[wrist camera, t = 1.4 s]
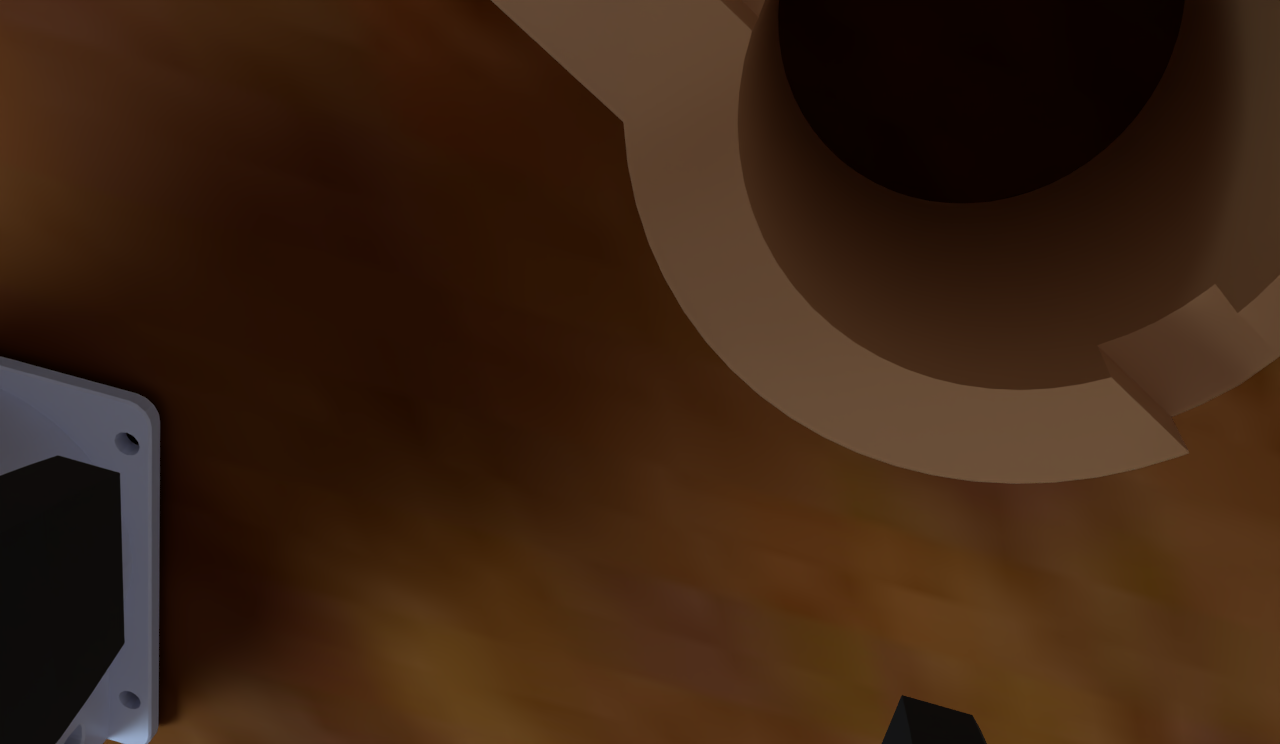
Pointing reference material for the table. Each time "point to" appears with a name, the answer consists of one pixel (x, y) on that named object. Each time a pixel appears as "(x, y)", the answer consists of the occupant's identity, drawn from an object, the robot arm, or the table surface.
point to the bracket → (952, 247)
